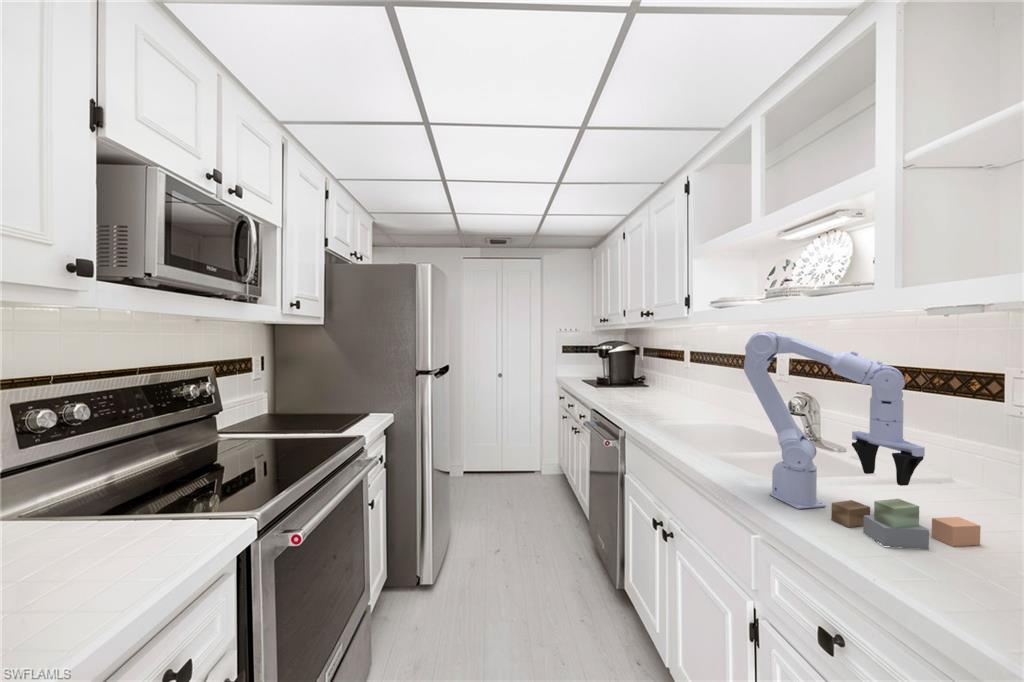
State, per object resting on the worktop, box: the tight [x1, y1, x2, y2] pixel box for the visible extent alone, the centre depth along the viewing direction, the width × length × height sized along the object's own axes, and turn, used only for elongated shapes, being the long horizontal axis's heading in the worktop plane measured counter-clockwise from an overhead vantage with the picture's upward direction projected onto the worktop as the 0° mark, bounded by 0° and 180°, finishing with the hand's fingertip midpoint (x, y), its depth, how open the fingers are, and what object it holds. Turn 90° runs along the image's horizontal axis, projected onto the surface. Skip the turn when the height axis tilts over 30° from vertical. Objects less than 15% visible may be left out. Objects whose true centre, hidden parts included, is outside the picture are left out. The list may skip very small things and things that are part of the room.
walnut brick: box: [830, 499, 871, 529], centre depth 96 cm, size 4×6×4 cm, turn 104°
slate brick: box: [863, 514, 930, 550], centre depth 88 cm, size 6×8×4 cm
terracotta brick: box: [931, 516, 981, 547], centre depth 87 cm, size 4×6×4 cm, turn 94°
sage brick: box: [873, 498, 920, 529], centre depth 87 cm, size 4×6×4 cm, turn 100°
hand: (885, 478), depth 97 cm, fingers open, 7 cm apart
